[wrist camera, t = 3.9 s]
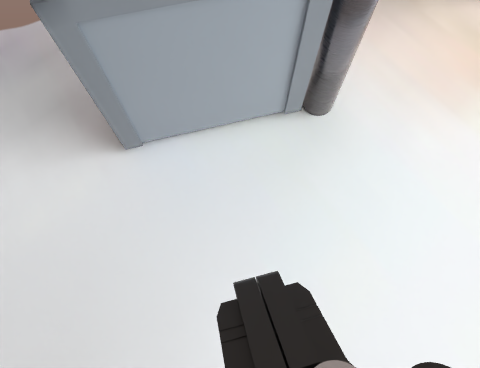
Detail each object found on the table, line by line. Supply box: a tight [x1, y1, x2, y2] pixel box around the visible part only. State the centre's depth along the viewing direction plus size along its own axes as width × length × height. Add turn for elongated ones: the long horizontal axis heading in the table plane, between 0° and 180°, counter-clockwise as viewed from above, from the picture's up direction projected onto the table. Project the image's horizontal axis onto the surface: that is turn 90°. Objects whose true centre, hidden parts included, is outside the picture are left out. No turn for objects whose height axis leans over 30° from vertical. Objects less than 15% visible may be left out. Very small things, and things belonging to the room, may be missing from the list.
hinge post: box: [303, 0, 378, 116], centre depth 27 cm, size 3×3×18 cm
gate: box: [30, 0, 333, 149], centre depth 26 cm, size 17×2×16 cm, turn 105°
